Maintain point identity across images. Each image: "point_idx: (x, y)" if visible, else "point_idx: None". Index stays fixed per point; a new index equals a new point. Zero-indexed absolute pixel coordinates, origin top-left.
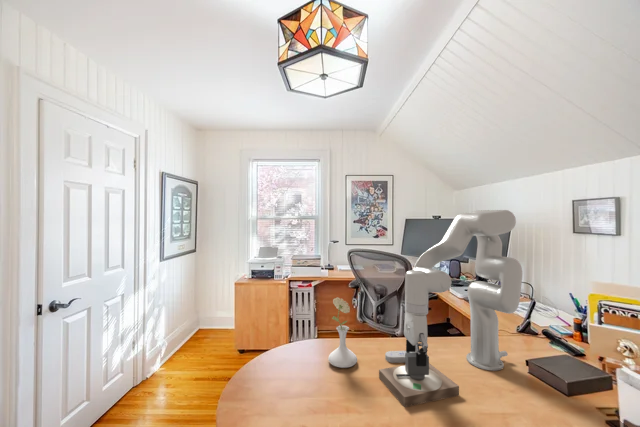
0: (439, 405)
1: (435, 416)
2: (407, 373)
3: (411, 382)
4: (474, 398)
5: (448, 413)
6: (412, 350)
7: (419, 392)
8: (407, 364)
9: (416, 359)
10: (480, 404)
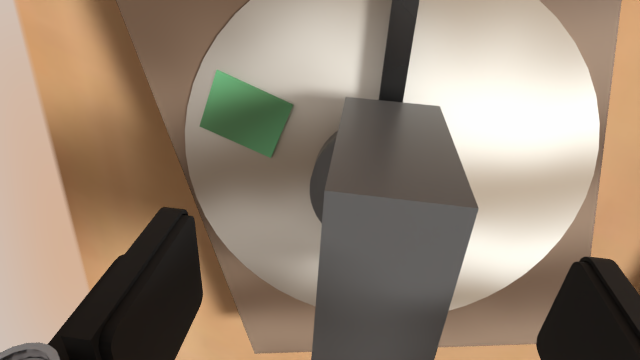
0: (180, 181)
1: (80, 112)
2: (368, 100)
3: (304, 94)
4: (244, 353)
5: (118, 191)
6: (553, 331)
7: (171, 98)
8: (364, 138)
9: (125, 258)
10: (202, 349)
